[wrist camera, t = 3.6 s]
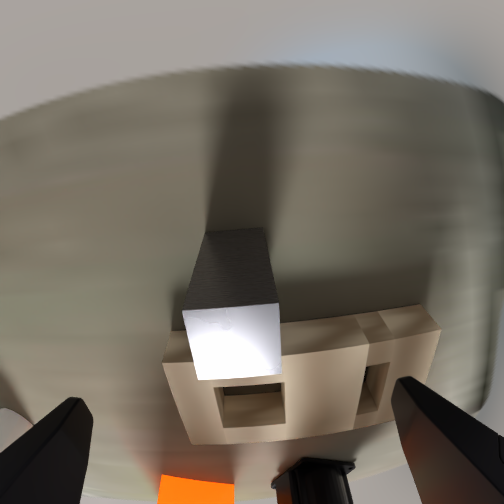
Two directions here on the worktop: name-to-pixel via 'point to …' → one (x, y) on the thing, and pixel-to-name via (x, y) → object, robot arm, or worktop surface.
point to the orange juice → (194, 492)
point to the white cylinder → (11, 427)
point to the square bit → (233, 307)
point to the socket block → (308, 379)
